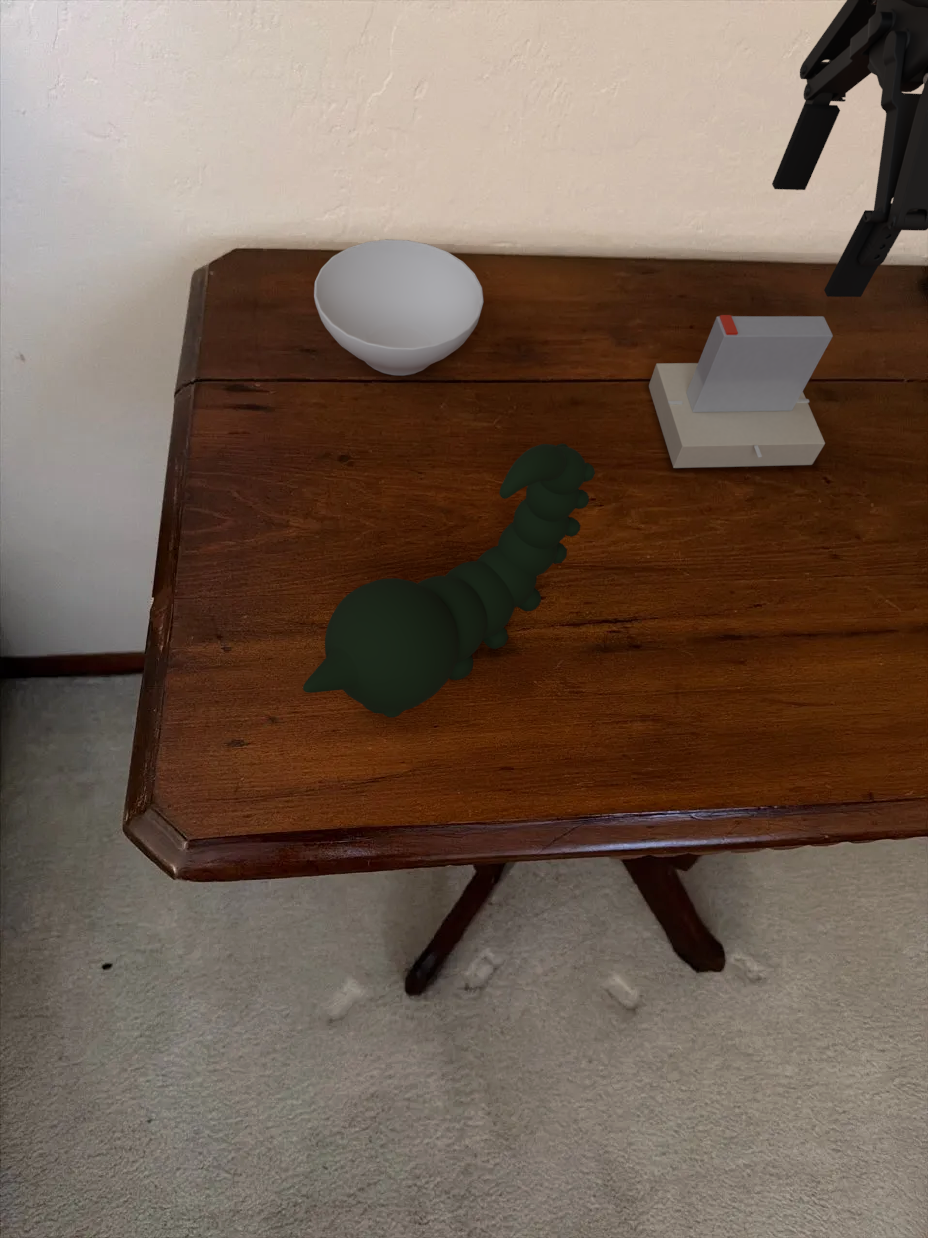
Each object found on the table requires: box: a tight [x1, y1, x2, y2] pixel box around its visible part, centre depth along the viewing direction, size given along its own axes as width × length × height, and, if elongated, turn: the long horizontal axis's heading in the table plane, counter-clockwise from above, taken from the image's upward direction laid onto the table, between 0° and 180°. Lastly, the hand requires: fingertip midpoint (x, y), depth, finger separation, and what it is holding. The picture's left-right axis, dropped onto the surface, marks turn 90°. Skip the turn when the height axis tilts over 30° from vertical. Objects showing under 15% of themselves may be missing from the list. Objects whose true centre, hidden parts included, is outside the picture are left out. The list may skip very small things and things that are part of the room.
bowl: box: [313, 238, 484, 376], centre depth 86 cm, size 16×16×7 cm
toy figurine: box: [302, 442, 596, 719], centre depth 63 cm, size 9×19×25 cm
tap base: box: [648, 362, 826, 469], centre depth 86 cm, size 14×14×3 cm
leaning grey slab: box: [687, 314, 834, 412], centre depth 81 cm, size 10×3×9 cm, turn 96°
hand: (813, 237), depth 70 cm, fingers open, 13 cm apart
